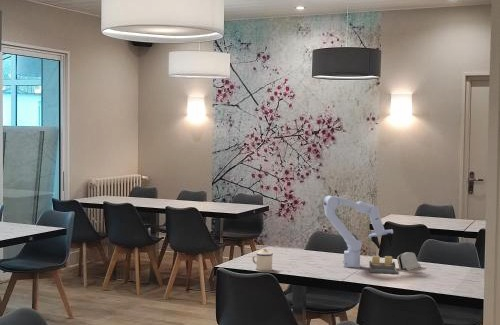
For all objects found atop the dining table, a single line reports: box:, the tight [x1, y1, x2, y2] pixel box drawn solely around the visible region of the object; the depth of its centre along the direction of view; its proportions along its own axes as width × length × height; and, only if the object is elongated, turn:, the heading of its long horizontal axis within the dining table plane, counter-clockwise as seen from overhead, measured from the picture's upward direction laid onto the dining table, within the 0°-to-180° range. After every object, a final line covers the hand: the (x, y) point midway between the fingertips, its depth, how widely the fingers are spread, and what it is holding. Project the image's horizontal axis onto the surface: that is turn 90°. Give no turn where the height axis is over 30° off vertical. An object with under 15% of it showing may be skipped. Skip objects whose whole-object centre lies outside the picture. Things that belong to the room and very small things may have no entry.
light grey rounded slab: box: [396, 251, 422, 271], centre depth 384 cm, size 17×5×10 cm, turn 138°
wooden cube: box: [371, 255, 381, 264], centre depth 383 cm, size 4×4×4 cm
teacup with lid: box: [251, 247, 273, 272], centre depth 371 cm, size 12×9×12 cm
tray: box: [369, 266, 397, 275], centre depth 371 cm, size 14×10×2 cm
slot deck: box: [368, 260, 396, 269], centre depth 381 cm, size 14×9×3 cm, turn 81°
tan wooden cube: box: [384, 255, 393, 265], centre depth 382 cm, size 4×4×4 cm
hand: (385, 246), depth 388 cm, fingers open, 7 cm apart
